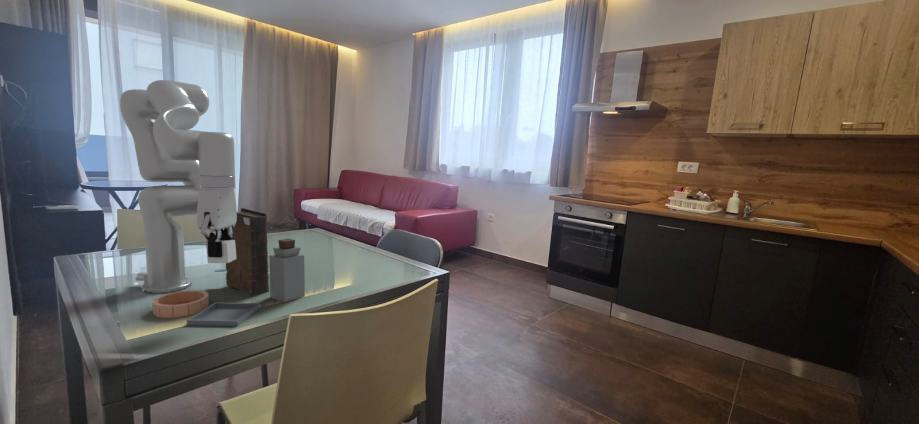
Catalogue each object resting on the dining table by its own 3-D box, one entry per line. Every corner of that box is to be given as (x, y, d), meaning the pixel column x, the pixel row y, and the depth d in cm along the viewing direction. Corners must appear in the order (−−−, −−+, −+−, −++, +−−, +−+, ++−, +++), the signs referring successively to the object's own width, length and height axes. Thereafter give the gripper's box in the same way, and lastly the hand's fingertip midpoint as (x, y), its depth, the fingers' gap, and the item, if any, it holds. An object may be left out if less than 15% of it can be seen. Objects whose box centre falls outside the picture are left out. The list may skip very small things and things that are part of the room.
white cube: (207, 263, 98) (205, 243, 98) (216, 259, 102) (215, 240, 102) (228, 262, 99) (226, 243, 98) (236, 258, 103) (234, 240, 102)
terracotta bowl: (142, 320, 99) (141, 305, 99) (174, 302, 111) (173, 289, 111) (191, 321, 100) (190, 306, 99) (218, 303, 112) (217, 290, 111)
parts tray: (187, 328, 96) (186, 320, 96) (215, 309, 108) (215, 302, 108) (237, 329, 97) (237, 321, 96) (260, 310, 108) (260, 303, 108)
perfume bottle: (284, 305, 113) (283, 243, 111) (270, 299, 117) (269, 240, 114) (304, 298, 119) (304, 240, 116) (290, 293, 122) (289, 236, 120)
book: (271, 294, 121) (269, 213, 118) (247, 299, 116) (244, 215, 112) (248, 281, 132) (245, 207, 128) (224, 286, 126) (221, 209, 123)
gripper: (220, 180, 106) (223, 246, 108) (180, 184, 89) (184, 263, 92) (249, 181, 106) (251, 247, 109) (214, 186, 90) (217, 264, 92)
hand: (220, 254), depth 100 cm, fingers closed on white cube, 4 cm apart
